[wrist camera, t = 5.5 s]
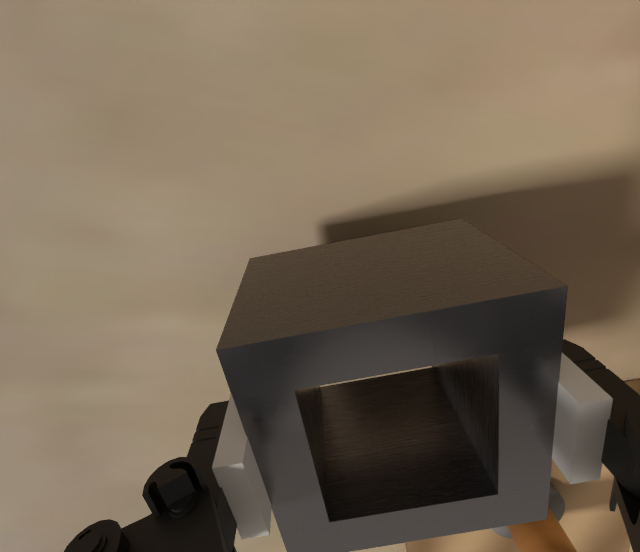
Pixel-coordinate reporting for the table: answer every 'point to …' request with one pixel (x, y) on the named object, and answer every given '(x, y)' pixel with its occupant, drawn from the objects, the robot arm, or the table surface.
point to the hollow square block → (397, 385)
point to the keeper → (551, 522)
